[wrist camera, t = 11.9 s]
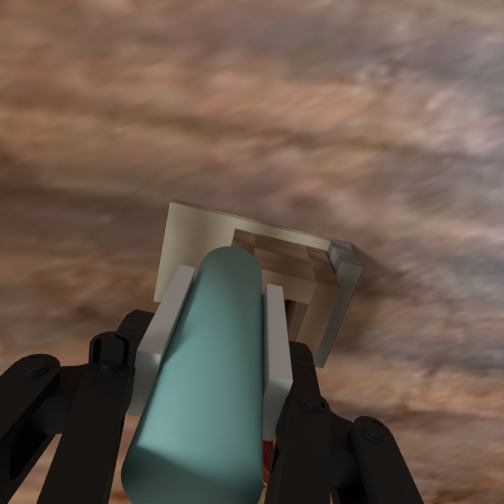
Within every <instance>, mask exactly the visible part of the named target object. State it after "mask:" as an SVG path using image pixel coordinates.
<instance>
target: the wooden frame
mask: <svg viewBox="0 0 504 504" xmlns="http://www.w3.org/2000/svg"><path fill="white" fill-rule="evenodd" d="M235 228H236V229H240V230H244V231H248V232H252V233H256V234H261V235H265V236H269V237H273V238H277V239H281V240H285V241H289V242H294V243H298V244H302V245H306V246H310V247H314V248H318V249H323V250H325V252H326V254H327V257H328V259H329V261H330V263H331V266H332V268H333V270H334V273H335V275H336V277H337V279H338V282H339V284H340V286H341V291H340V293H339V296H338V298H337V301H336V304H335V306H334V309H333V311H332V314H331V317H330V319H329V322H328V324H327V327H326V330H325V332H324V335H323V337H322V340H321V343H320V345H319V348H318V350H317V353H316V356H315V358H314V362H313V363H314V365H315V367H319V368H323V367H324V365H325V362H326V360H327V357H328V355H329V352H330V350H331V347H332V345H333V342H334V340H335V337H336V335H337V332H338V330H339V327H340V325H341V322H342V320H343V317H344V315H345V312H346V310H347V307H348V305H349V302H350V300H351V297H352V295H353V292H354V290H355V287H356V285H357V282H358V280H359V277H360V275H361V272H362V270H363V266H362V264H361V262H360V261H359V259H358V258H357V256H356V255H355V253H354V251H353V250H352V246H351V244H350V243H348V242H344V241H340V240H336V239H332V238H328V237H324V236H320V235H316V234H312V233H307V232H303V231H299V230H295V229H291V228H287V227H283V226H279V225H275V224H271V223H267V222H262V221H258V220H254V219H250V218H246V217H242V216H238V215H234V214H230V213H226V212H222V211H217V210H213V209H209V208H205V207H201V206H197V205H193V204H189V203H185V202H181V201H177V200H172V201H171V202H170V206H169V211H168V217H167V223H166V229H165V235H164V241H163V247H162V253H161V259H160V265H159V271H158V277H157V283H156V289H155V295H154V301H155V302H159V303H161V301H162V299H163V297H164V295H165V293H166V291H167V289H168V287H169V285H170V283H171V281H172V280H173V278H174V276H175V274H176V272H177V270H178V268H179V266H180V265H184V266H189V267H194V268H196V269H195V274H194V278H195V275H196V273H197V270H198V267H199V265H200V263H201V261H202V259H203V258H204V257H205V256H206V255H207V254H208V253H209V252H211V251H212V250H214V249H217V248H219V247H225V246H231V243H232V239H233V235H234V231H235ZM193 280H194V279H193ZM263 297H264V294H262V301H263ZM286 302H287V299H284V306H285V305H286Z"/></svg>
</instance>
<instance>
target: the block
mask: <svg viewBox="0 0 504 504" xmlns="http://www.w3.org/2000/svg"><path fill="white" fill-rule="evenodd" d="M231 246H233V247H238V248H241V249H244V250H246V251H248V252H249V253H250V254H252V255H253V256H254V257H255V258H256V260H257V261H258V263H259V264H260V267H261V270H262V294H264V293H265V290H266V286H267V284H272V285H277V286H281V287H282V288H283V297H284V299H287V302H286V305H285V315H286V324H287V333H288V340H290V341H295V342H299V343H304V344H306V345H307V346H308V348H309V349H310V351H311V352H312V356H313V361H314V358H315V356H316V353H317V350H318V348H319V345H320V343H321V340H322V337H323V335H324V332H325V330H326V327H327V324H328V322H329V319H330V317H331V314H332V311H333V309H334V306H335V304H336V301H337V298H338V296H339V293H340V291H341V286H340V284H339V282H338V279H337V277H336V275H335V273H334V270H333V268H332V266H331V263H330V261H329V259H328V257H327V254H326V252H325V250H323V249H318V248H314V247H310V246H306V245H302V244H298V243H294V242H289V241H285V240H281V239H277V238H273V237H269V236H265V235H261V234H256V233H252V232H248V231H244V230H240V229H236V228H235V231H234V235H233V239H232V243H231Z"/></svg>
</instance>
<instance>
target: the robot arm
mask: <svg viewBox="0 0 504 504" xmlns="http://www.w3.org/2000/svg"><path fill="white" fill-rule="evenodd" d="M195 269H196V268H194V267H189V266H184V265H180V266H179V268H178V270H177V272H176V274H175V276H174V278H173V280H172V281H171V283H170V285H169V287H168V289H167V291H166V293H165V295H164V297H163V299H162V301H161V303H160V305H159V307H158V309H157V311H156V313H151V312H146V311H141V310H134V311H132V312H131V313H129V314H128V315H126V317H125V318H124V320H123V321H122V323H121V325H120V326H119V328H118V329H117V331H116V332H105V333H101V334H99V335H97V336H95V337H94V338H93V339H92V340H91V342H90V348H89V361H88V364H84V365H79V366H60V362H59V361H58V360H57V358H56V357H53V356H51V355H48V354H33V355H29V356H26V357H23V358H21V359H19V360H18V361H17V362H15V363H14V364H13V365H12V366H11V367H10V368H8V369H7V370H6V371H5V372H4V373H3V374H2V375H1V376H0V504H7V503H8V502H9V501H10V499H11V498H12V496H13V495H14V494H15V492H16V491H17V489H18V488H19V486H20V485H21V484H22V482H23V481H24V479H25V478H26V476H27V475H28V474H29V472H30V471H31V469H32V468H33V467H34V465H35V464H36V462H37V461H38V459H39V458H40V457H41V455H42V454H43V452H44V451H45V449H46V448H47V447H48V445H49V444H50V442H51V441H52V440H53V438H54V437H55V435H56V434H61V433H62V436H61V439H60V441H59V444H58V447H57V449H56V452H55V455H54V458H53V460H52V463H51V466H50V468H49V471H48V474H47V476H46V479H45V482H44V485H43V487H42V490H41V493H40V495H39V498H38V501H37V503H36V504H108V502H109V497H110V492H111V487H112V482H113V477H114V472H115V467H116V462H117V457H118V452H119V447H120V442H121V437H122V432H123V427H124V420H125V414H126V412H127V410H128V407H129V413H128V414H129V415H134V416H139V417H141V415H142V413H143V410H144V408H145V405H146V403H147V400H148V397H149V395H150V392H151V390H152V387H153V384H154V382H155V379H156V377H157V375H158V373H159V370H160V367H161V365H162V362H163V360H164V357H165V354H166V352H167V349H168V347H169V344H170V341H171V339H172V336H173V333H174V331H175V328H176V326H177V323H178V320H179V318H180V315H181V313H182V310H183V307H184V305H185V302H186V299H187V297H188V294H189V292H190V289H191V286H192V284H193V279H194V274H195ZM262 326H263V440H266V441H271V442H272V441H273V438H274V435H275V432H276V445H275V448H274V450H273V453H272V456H271V459H270V462H269V465H268V469H270V471H269V477H268V482H267V488H266V494H265V500H264V504H330V492H331V496H332V500H333V504H424V502H423V500H422V498H421V496H420V494H419V491H418V489H417V487H416V485H415V483H414V481H413V478H412V476H411V474H410V472H409V470H408V467H407V465H406V463H405V461H404V459H403V457H402V454H401V452H400V450H399V448H398V446H397V443H396V441H395V439H394V437H393V435H392V433H391V432H390V430H389V429H388V428H387V427H386V426H385V425H384V424H383V423H382V422H380V421H378V420H376V419H375V418H371V417H368V416H360V417H358V418H356V419H355V421H354V423H352V422H350V421H348V420H346V419H343V418H341V417H339V416H338V415H336V414H334V413H333V412H332V411H330V407H329V404H328V403H327V401H326V400H325V399H324V398H323V397H322V396H321V395H320V390H319V385H318V380H317V375H316V370H315V365H314V363H313V362H314V361H313V356H312V352H311V351H310V349H309V348H308V346H307V345H306V344H304V343H299V342H295V341H290V340H288V333H287V324H286V315H285V306H284V297H283V288H282V287H281V286H277V285H272V284H267V286H266V290H265V293H264V297H263V301H262Z"/></svg>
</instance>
